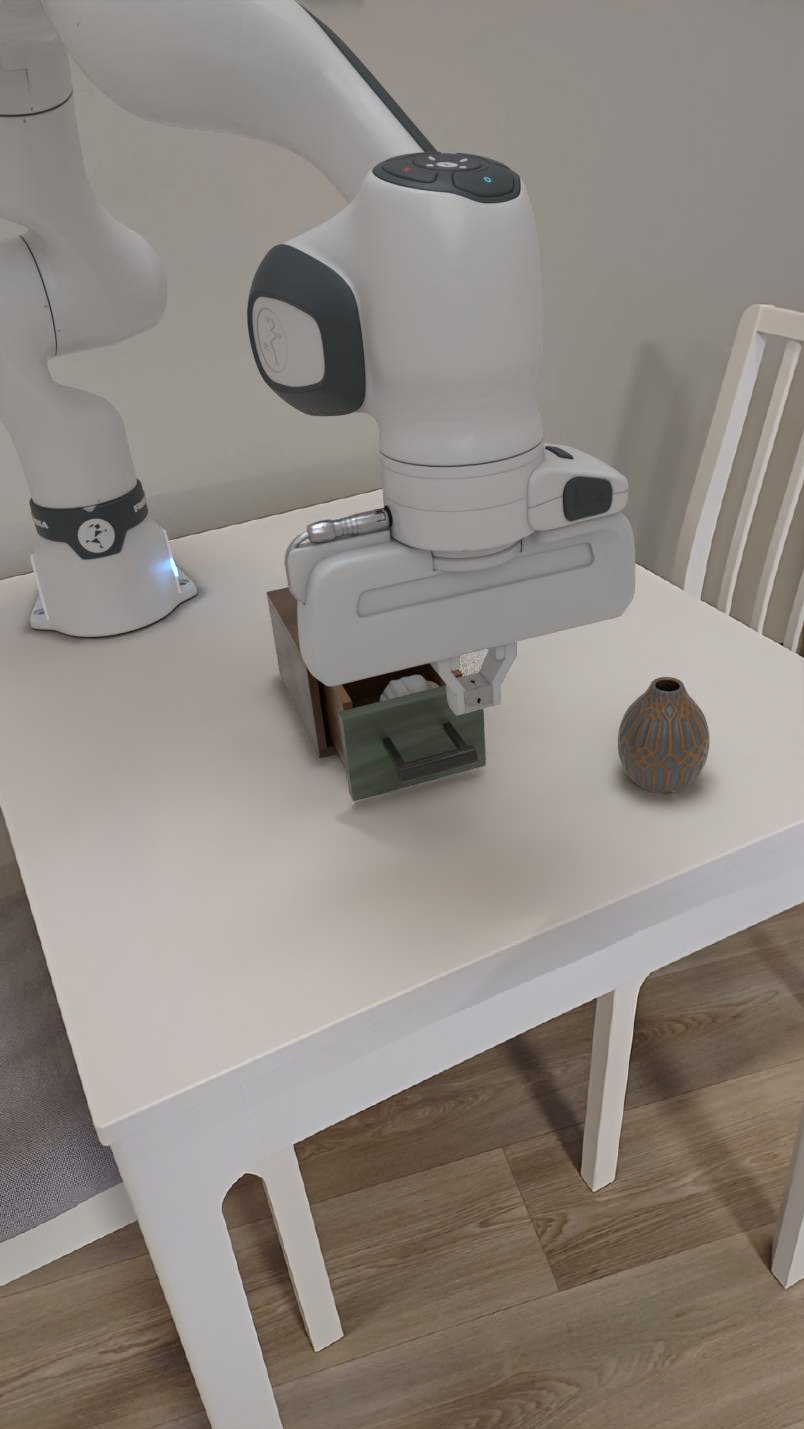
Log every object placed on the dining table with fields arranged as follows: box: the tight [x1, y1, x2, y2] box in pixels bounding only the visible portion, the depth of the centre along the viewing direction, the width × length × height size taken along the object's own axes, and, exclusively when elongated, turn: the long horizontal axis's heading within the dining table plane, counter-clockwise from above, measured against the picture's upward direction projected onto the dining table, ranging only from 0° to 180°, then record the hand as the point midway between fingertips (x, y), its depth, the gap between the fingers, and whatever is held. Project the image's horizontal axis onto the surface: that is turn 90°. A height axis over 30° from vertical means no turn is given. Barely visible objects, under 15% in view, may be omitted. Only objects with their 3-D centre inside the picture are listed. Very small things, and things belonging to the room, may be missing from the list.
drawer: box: [318, 663, 487, 802], centre depth 81 cm, size 19×11×8 cm, turn 19°
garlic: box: [380, 675, 439, 701], centre depth 83 cm, size 6×5×5 cm
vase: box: [617, 676, 711, 794], centre depth 77 cm, size 7×7×9 cm
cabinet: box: [266, 586, 338, 759], centre depth 90 cm, size 15×13×10 cm
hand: (474, 706), depth 62 cm, fingers closed
